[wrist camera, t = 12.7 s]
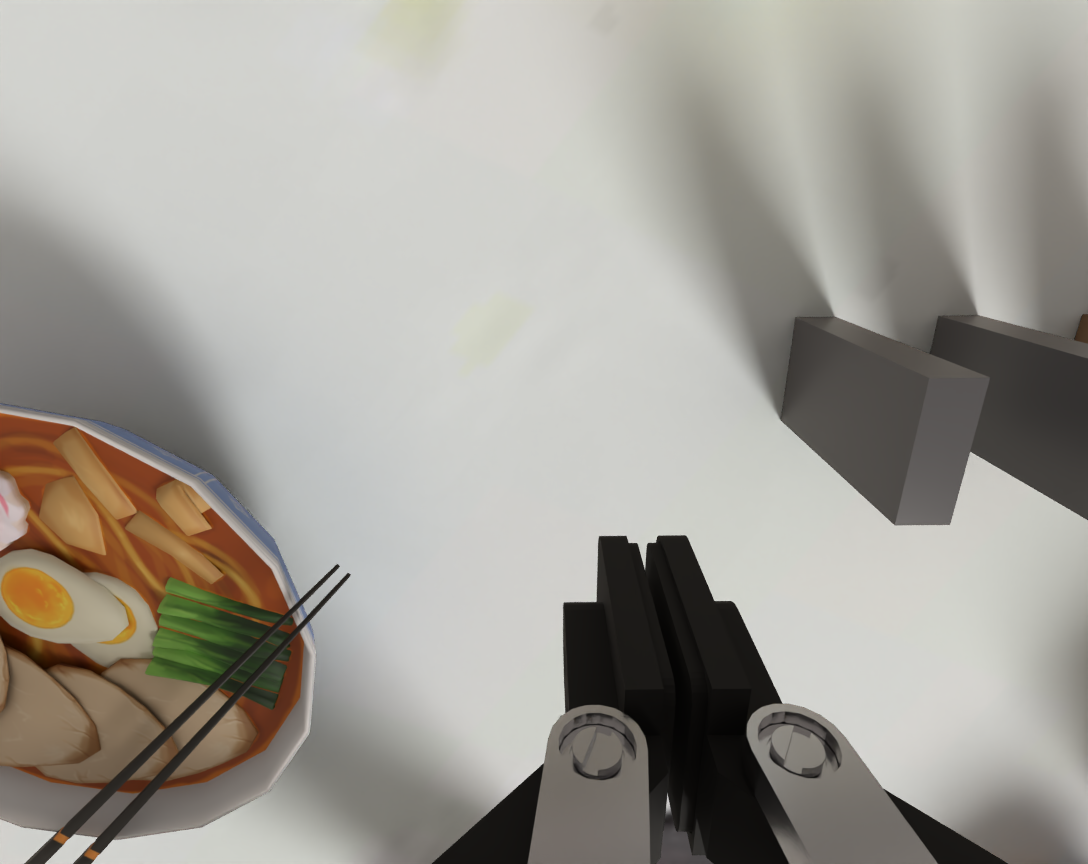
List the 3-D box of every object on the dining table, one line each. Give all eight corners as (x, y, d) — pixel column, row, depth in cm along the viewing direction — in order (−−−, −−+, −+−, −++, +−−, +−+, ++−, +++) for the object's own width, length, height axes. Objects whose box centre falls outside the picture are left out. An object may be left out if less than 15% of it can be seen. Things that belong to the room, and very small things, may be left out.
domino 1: (780, 420, 29) (894, 525, 19) (795, 317, 27) (929, 378, 17) (817, 420, 29) (949, 524, 19) (835, 317, 27) (990, 377, 17)
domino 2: (914, 419, 29) (1094, 523, 19) (938, 315, 27) (1149, 376, 17) (951, 418, 29) (1149, 523, 19) (978, 315, 27) (1210, 375, 17)
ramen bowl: (74, 222, 25) (-129, 231, 18) (467, 545, 31) (442, 655, 24) (-156, 569, 32) (-377, 685, 24) (205, 782, 38) (119, 930, 30)
